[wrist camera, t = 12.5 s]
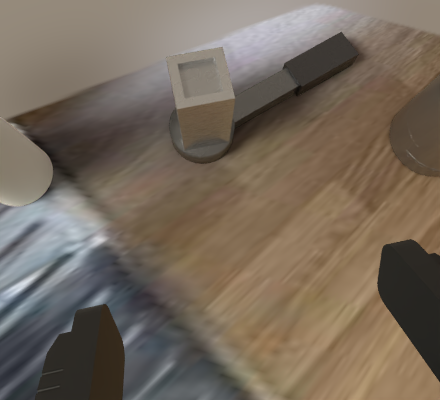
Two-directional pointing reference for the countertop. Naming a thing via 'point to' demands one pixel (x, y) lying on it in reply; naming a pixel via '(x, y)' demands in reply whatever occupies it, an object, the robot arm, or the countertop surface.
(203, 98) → the socket
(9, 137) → the cylindrical container
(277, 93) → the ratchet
